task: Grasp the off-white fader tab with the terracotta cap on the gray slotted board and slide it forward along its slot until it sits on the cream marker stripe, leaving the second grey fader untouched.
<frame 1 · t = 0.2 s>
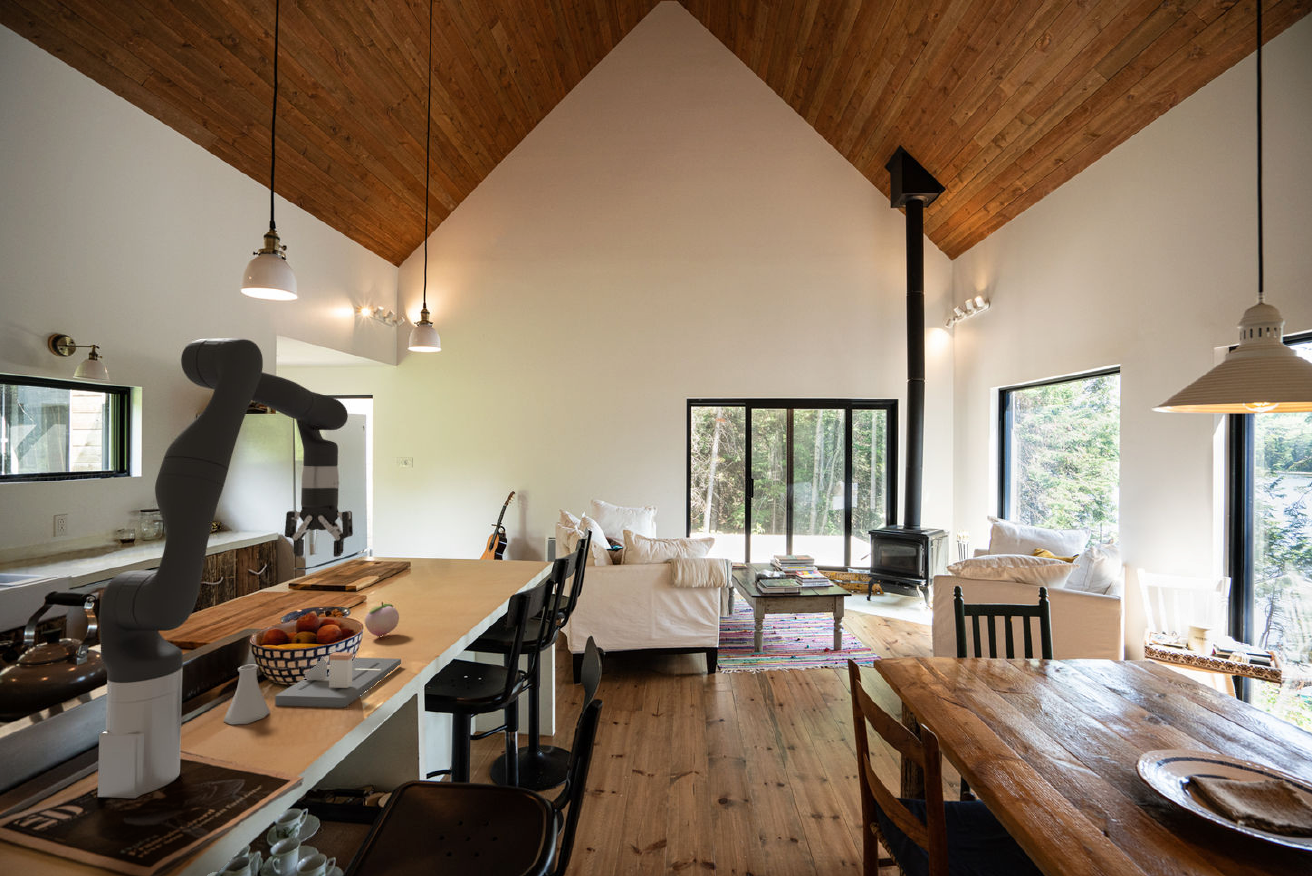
hand: (318, 556, 142), 28 cm above the kitchen island, fingers open, 8 cm apart
gray slotted board: (343, 684, 139), on the kitchen island
decorative fruit: (382, 638, 174), on the kitchen island
fader A: (340, 670, 132), point 6 cm above the kitchen island, slide at 0.0 cm
fader B: (316, 662, 136), point 6 cm above the kitchen island, slide at 0.0 cm
flask: (247, 719, 121), on the kitchen island
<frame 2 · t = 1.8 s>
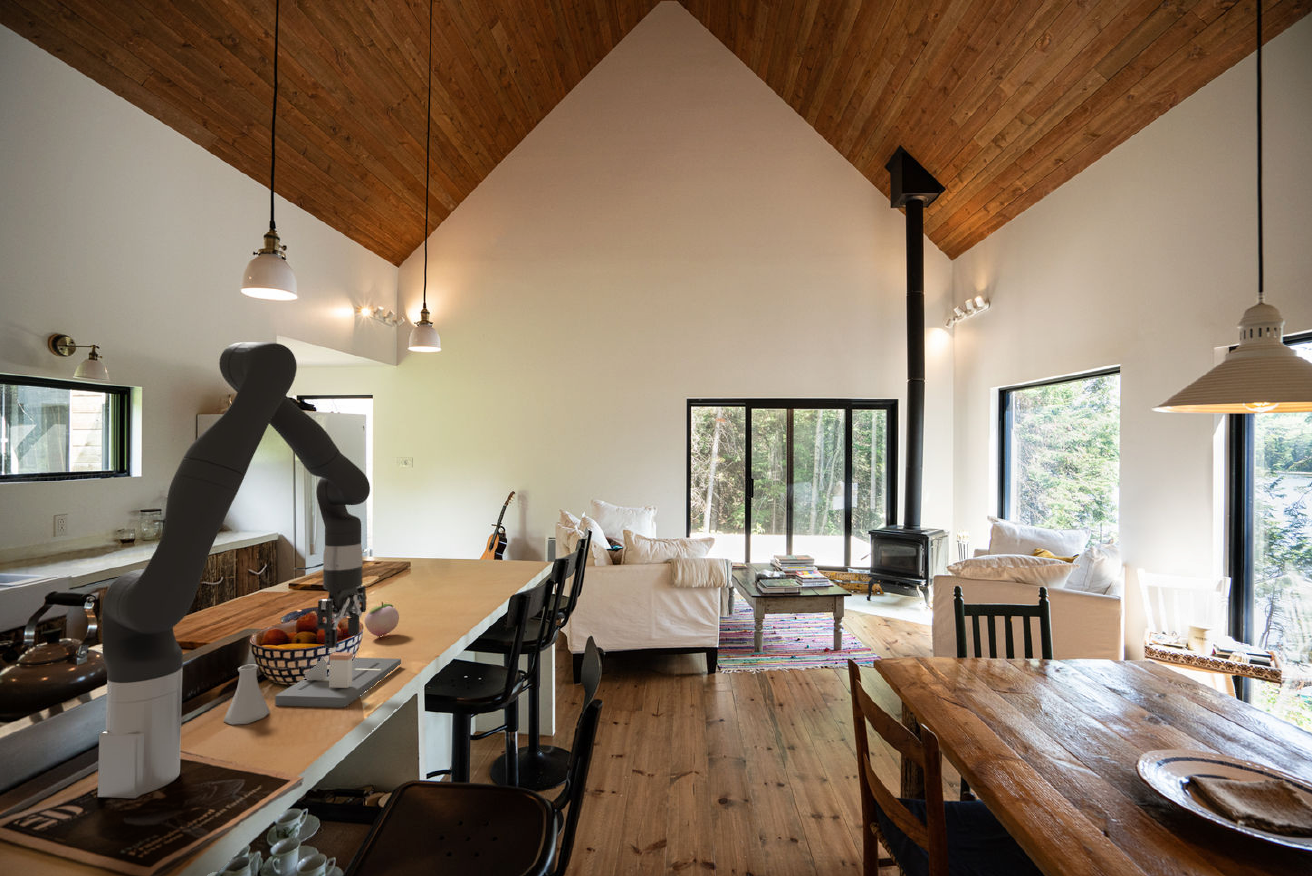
hand: (342, 641, 132), 12 cm above the kitchen island, fingers open, 8 cm apart
nothing on the kitchen island moved.
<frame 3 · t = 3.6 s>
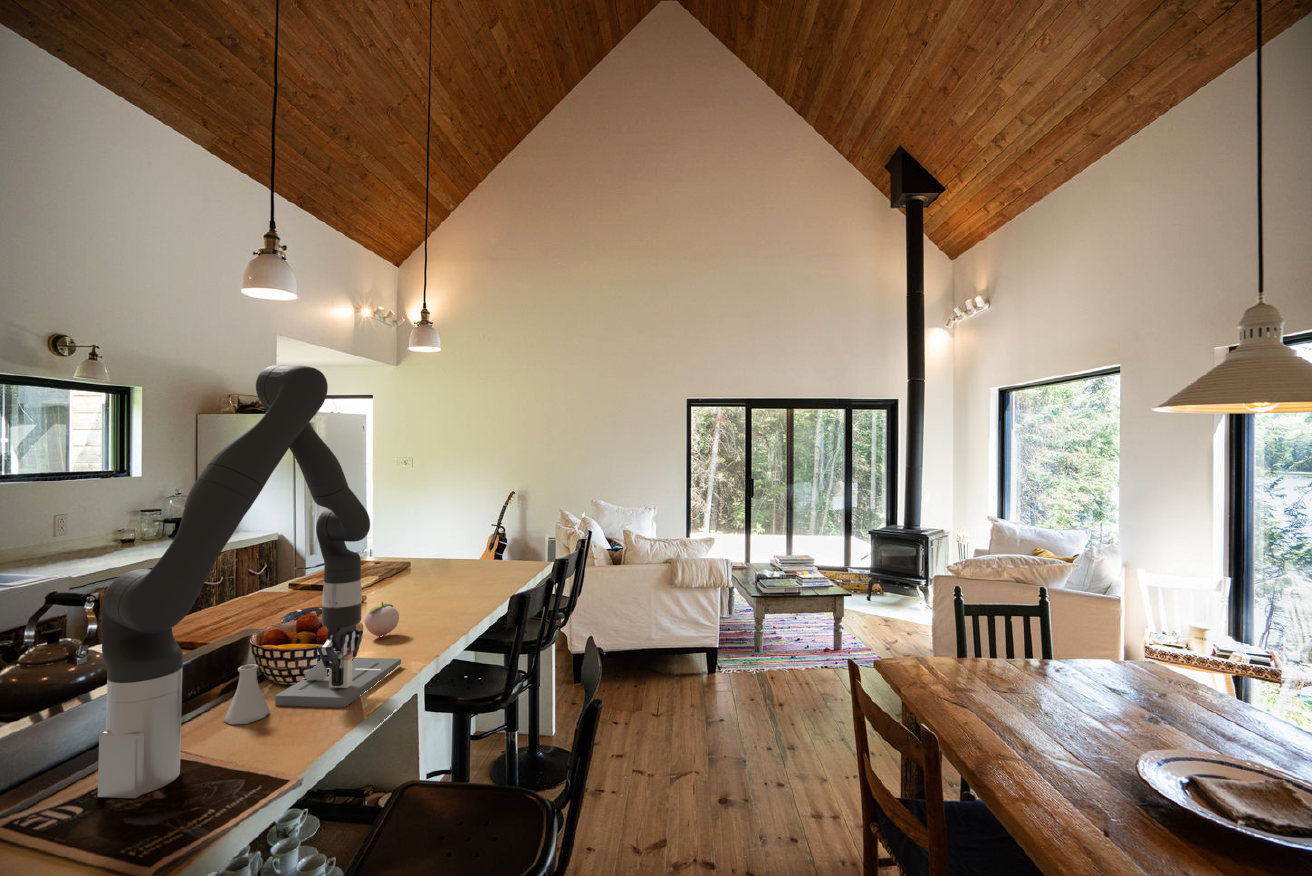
hand: (340, 683, 132), 3 cm above the kitchen island, fingers closed on fader A, 2 cm apart
fader A: (340, 670, 132), point 6 cm above the kitchen island, slide at 0.0 cm, touching gripper
everything else where it was.
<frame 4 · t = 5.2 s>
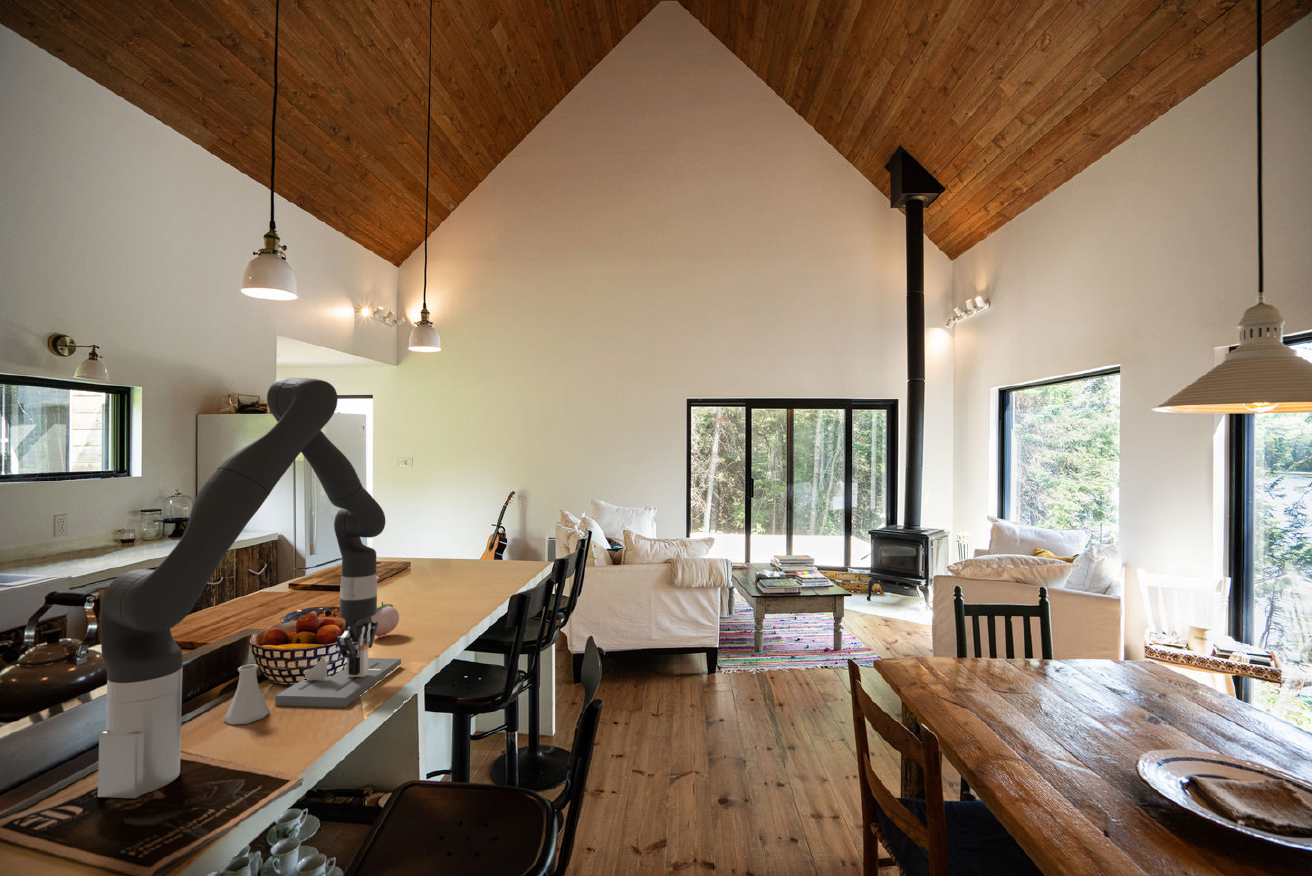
hand: (357, 672, 138), 3 cm above the kitchen island, fingers closed on fader A, 2 cm apart
fader A: (357, 659, 138), point 6 cm above the kitchen island, slide at 6.5 cm, touching gripper
everything else where it was.
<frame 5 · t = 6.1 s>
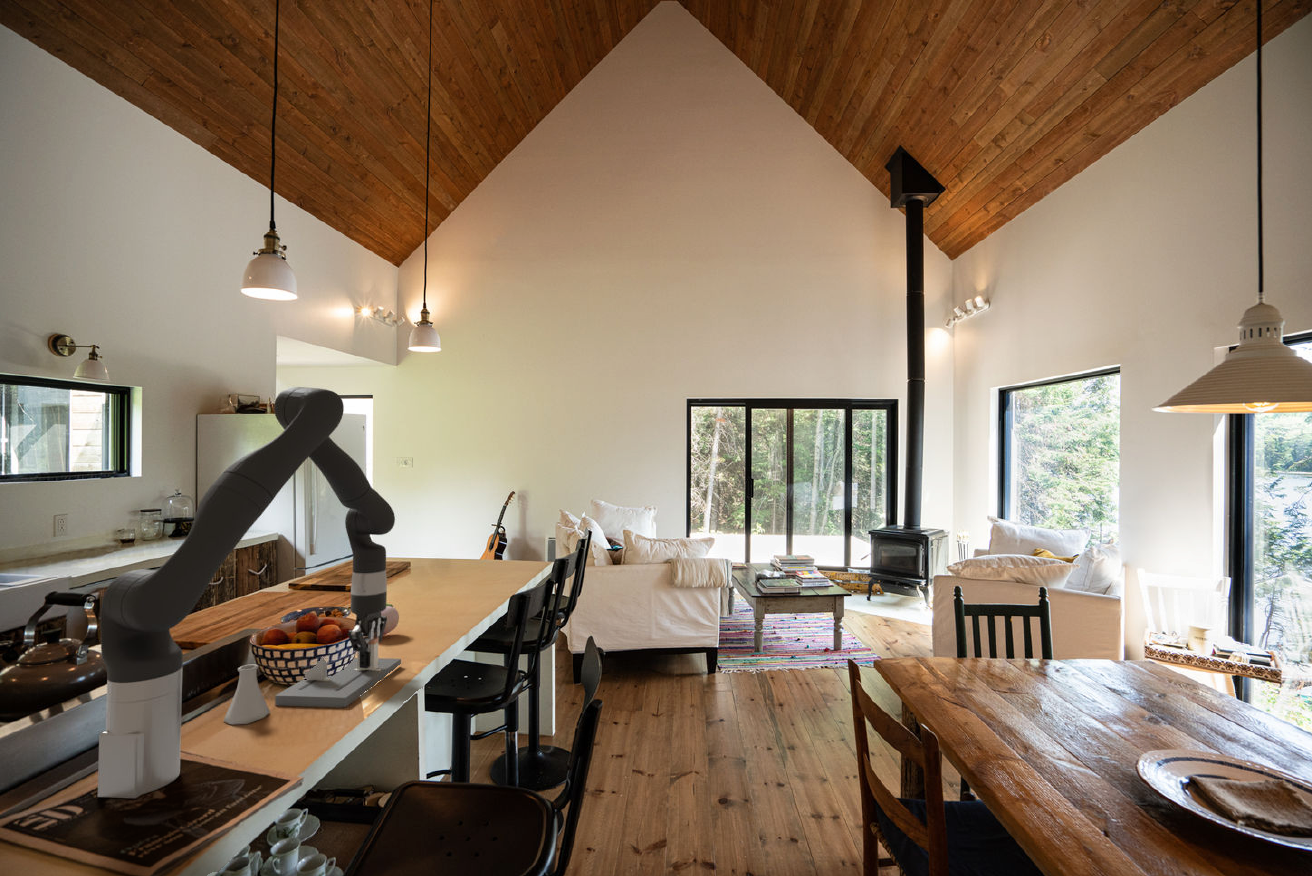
hand: (367, 665, 142), 3 cm above the kitchen island, fingers closed on fader A, 2 cm apart
fader A: (367, 653, 142), point 6 cm above the kitchen island, slide at 10.9 cm, touching gripper
everything else where it was.
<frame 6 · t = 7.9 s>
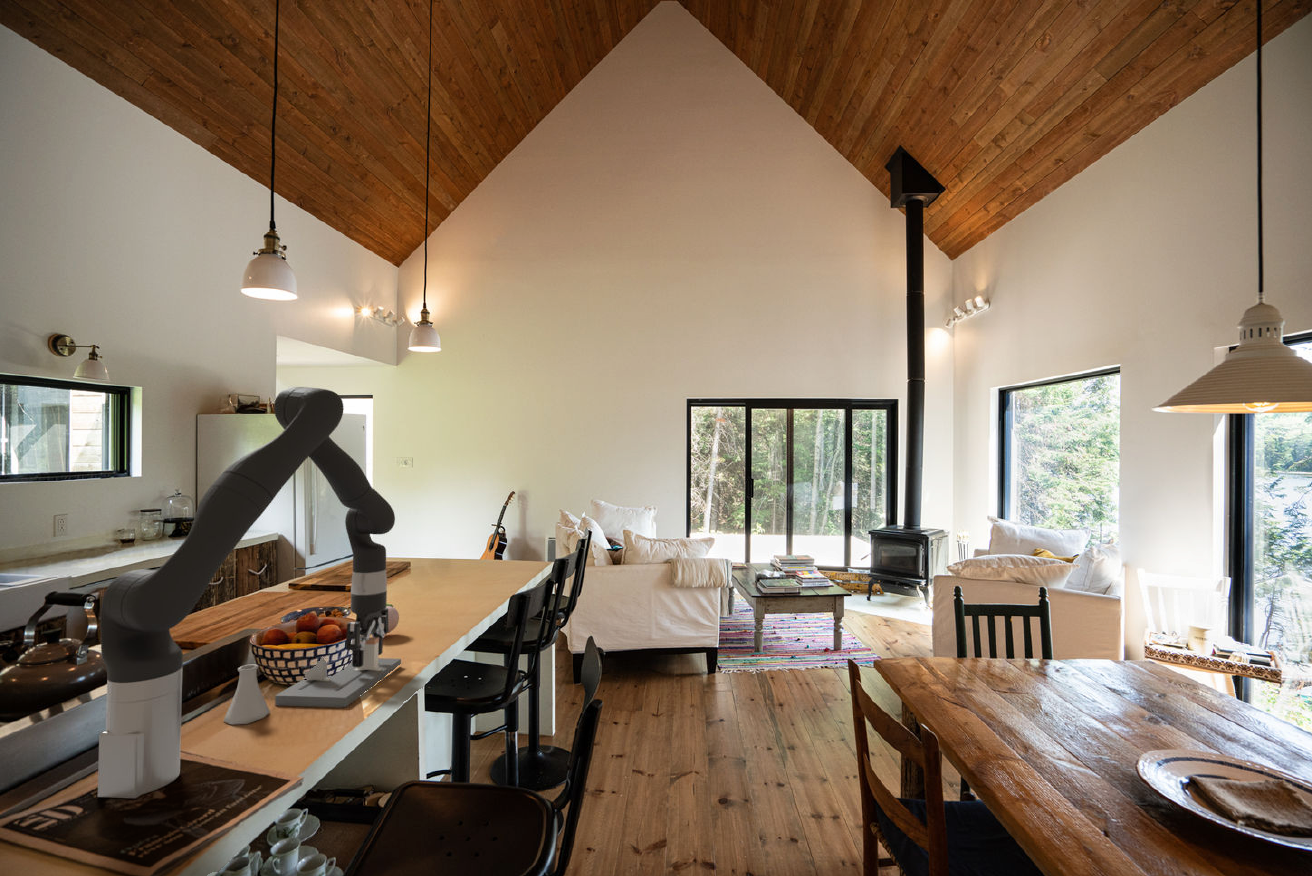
hand: (367, 660, 142), 4 cm above the kitchen island, fingers open, 8 cm apart
fader A: (368, 653, 142), point 6 cm above the kitchen island, slide at 11.0 cm
everything else where it was.
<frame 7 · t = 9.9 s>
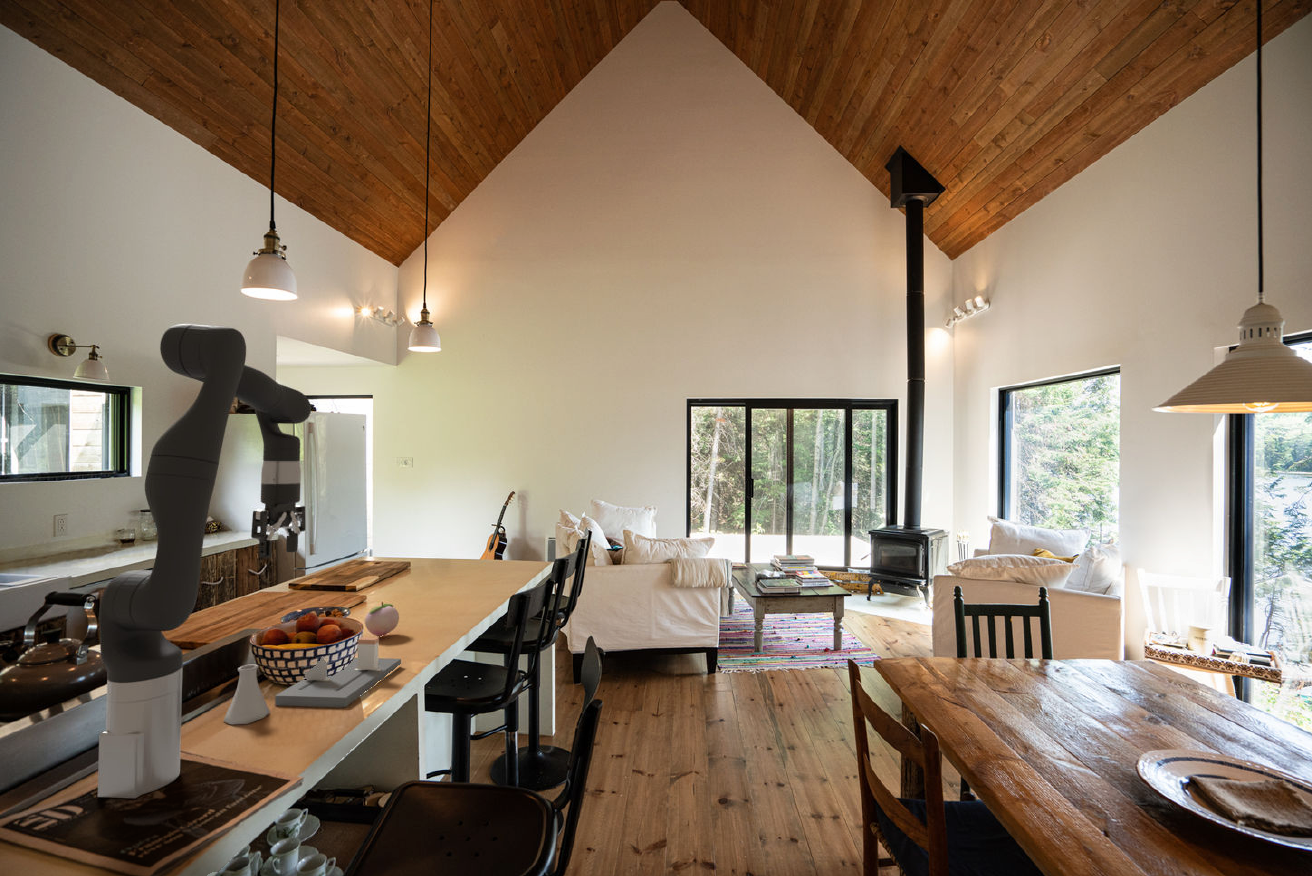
hand: (279, 554, 136), 30 cm above the kitchen island, fingers open, 8 cm apart
nothing on the kitchen island moved.
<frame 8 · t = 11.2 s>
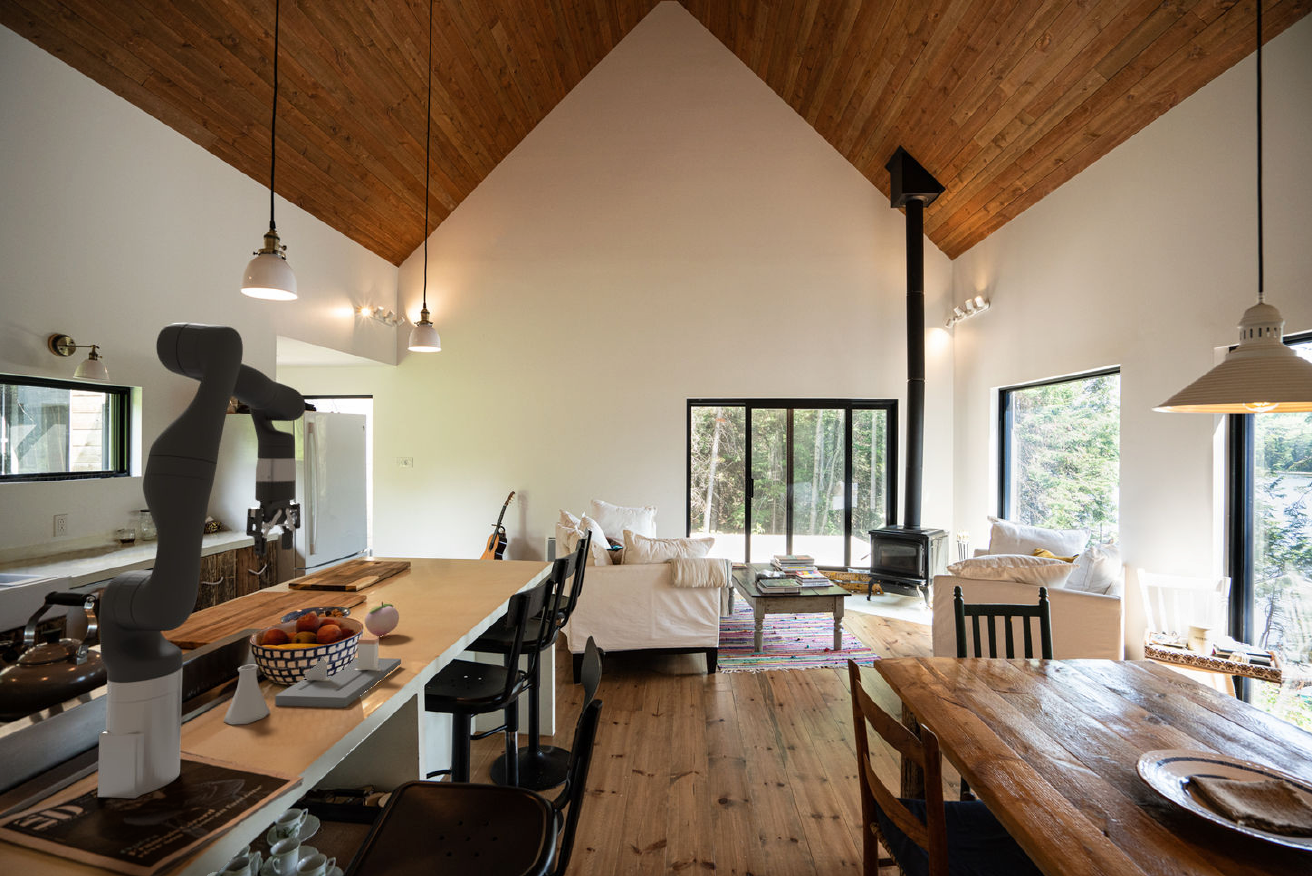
hand: (274, 552, 136), 30 cm above the kitchen island, fingers open, 8 cm apart
nothing on the kitchen island moved.
at the end: fader A slide at 11.0 cm; fader B slide at 0.0 cm; the gripper is holding nothing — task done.
